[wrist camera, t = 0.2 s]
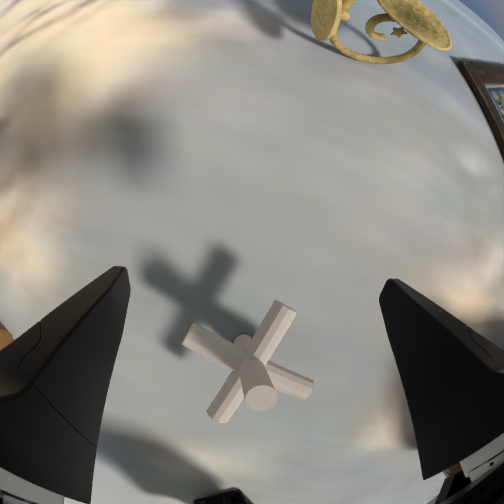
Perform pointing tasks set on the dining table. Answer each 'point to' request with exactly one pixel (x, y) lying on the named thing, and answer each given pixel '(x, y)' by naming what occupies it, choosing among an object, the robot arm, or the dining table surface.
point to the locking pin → (5, 338)
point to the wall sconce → (397, 10)
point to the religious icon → (488, 93)
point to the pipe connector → (250, 365)
